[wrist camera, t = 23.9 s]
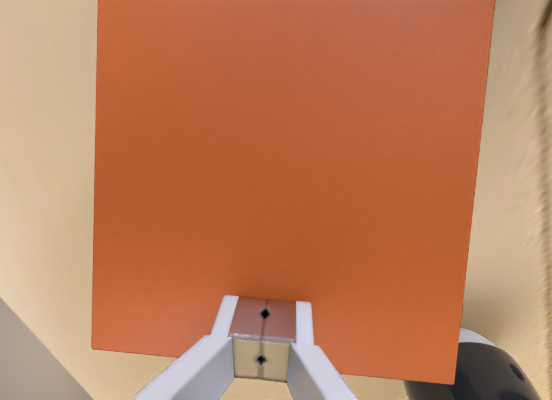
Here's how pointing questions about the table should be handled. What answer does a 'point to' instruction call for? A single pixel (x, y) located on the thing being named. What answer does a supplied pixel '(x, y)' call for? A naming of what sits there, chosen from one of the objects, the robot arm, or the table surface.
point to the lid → (289, 172)
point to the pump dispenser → (478, 375)
